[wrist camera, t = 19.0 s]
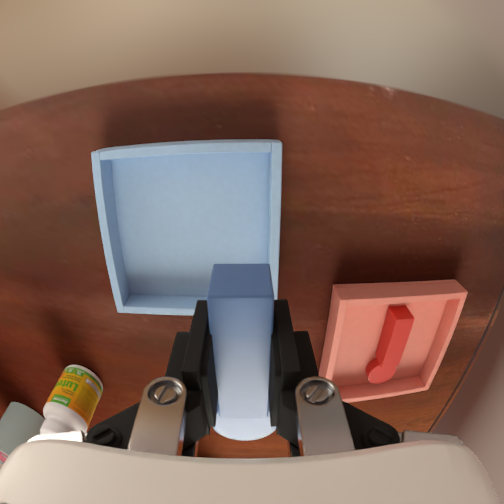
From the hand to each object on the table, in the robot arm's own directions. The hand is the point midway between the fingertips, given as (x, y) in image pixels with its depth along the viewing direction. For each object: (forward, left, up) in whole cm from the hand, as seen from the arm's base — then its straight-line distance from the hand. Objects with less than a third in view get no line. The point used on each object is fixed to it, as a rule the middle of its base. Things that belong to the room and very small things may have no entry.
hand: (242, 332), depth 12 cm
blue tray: (+4, 0, -14) cm, 14 cm away
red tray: (-14, +12, -14) cm, 23 cm away
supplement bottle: (+20, +19, -14) cm, 31 cm away
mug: (+38, +35, -14) cm, 54 cm away
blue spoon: (0, +1, 0) cm, 2 cm away
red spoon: (-14, +12, -13) cm, 23 cm away
